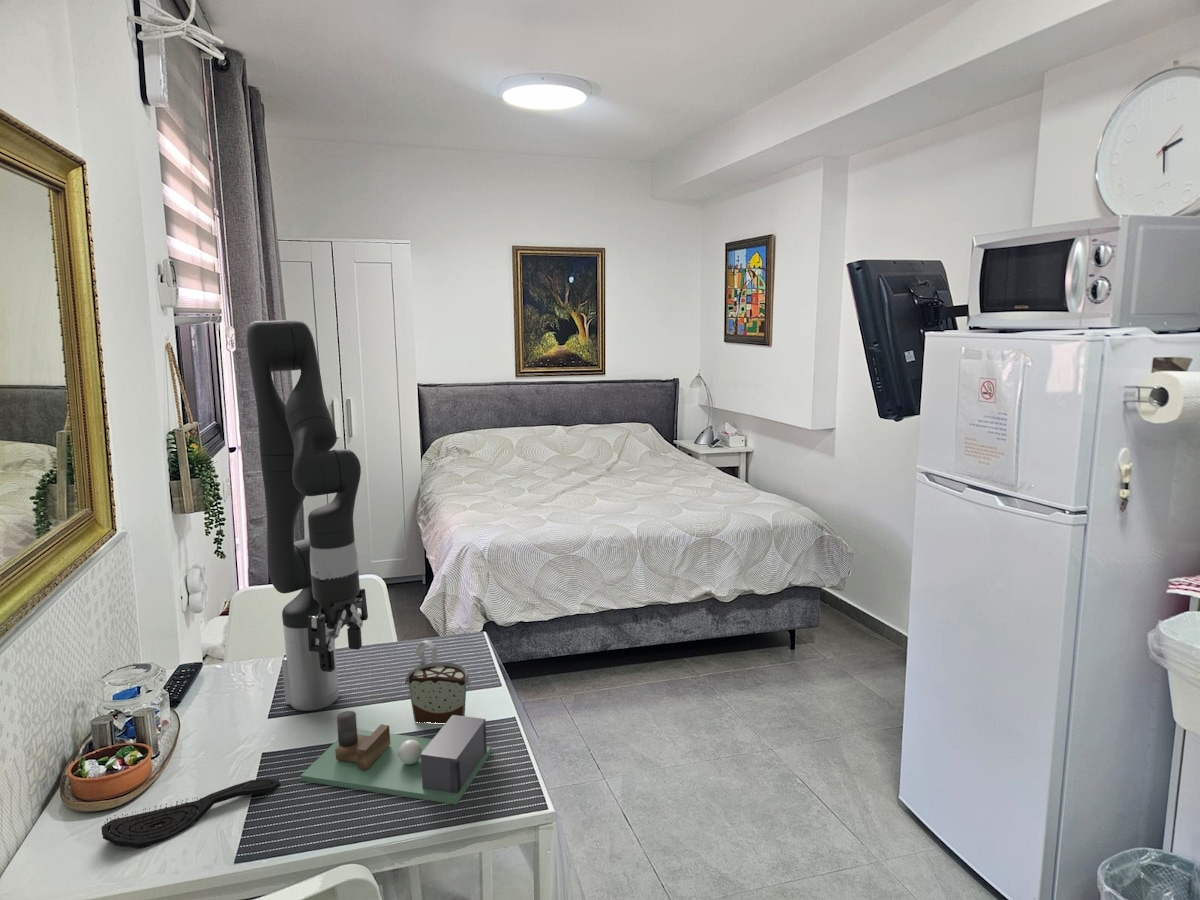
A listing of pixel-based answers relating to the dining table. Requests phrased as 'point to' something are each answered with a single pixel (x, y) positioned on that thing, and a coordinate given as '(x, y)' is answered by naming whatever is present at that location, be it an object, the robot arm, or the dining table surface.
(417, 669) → the food container
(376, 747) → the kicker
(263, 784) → the hairbrush
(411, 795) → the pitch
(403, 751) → the ball
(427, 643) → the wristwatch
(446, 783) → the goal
